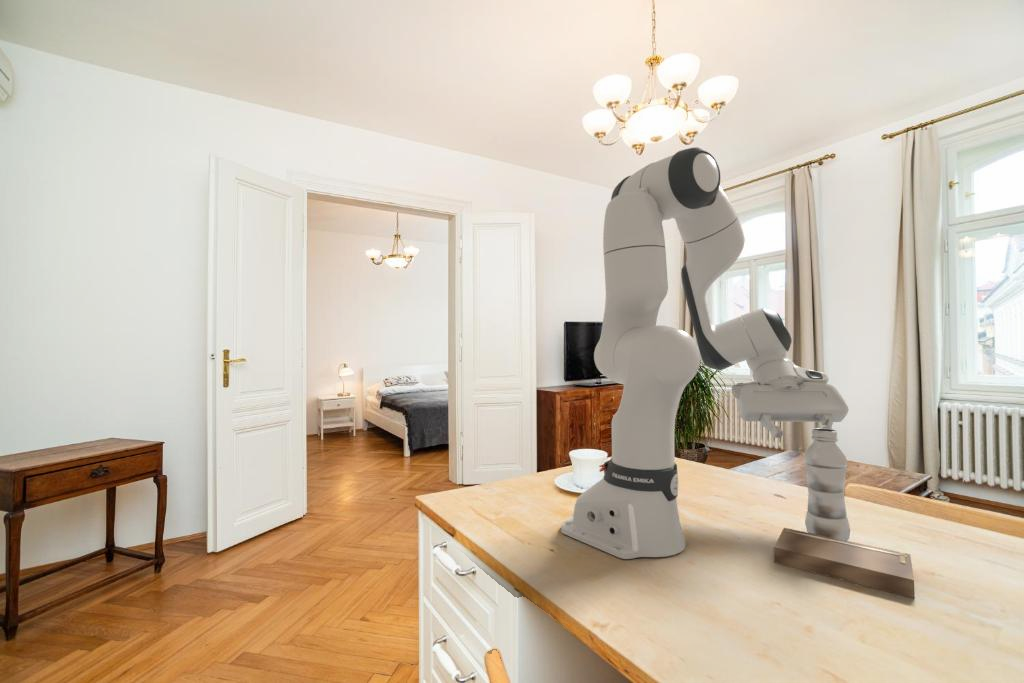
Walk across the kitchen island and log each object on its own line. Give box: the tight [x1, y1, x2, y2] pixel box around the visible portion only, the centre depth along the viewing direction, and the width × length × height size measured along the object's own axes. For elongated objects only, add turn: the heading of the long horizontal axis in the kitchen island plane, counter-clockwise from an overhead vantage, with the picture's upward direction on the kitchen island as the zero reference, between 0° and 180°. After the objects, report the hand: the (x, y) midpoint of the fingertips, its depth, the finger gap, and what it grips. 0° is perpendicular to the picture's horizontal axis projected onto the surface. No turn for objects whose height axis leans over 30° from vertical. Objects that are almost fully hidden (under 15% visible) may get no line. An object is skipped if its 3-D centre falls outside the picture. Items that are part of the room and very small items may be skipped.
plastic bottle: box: [802, 427, 851, 541], centre depth 81 cm, size 6×7×20 cm
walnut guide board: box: [773, 527, 916, 599], centre depth 71 cm, size 17×10×3 cm, turn 51°
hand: (803, 436), depth 88 cm, fingers open, 8 cm apart
